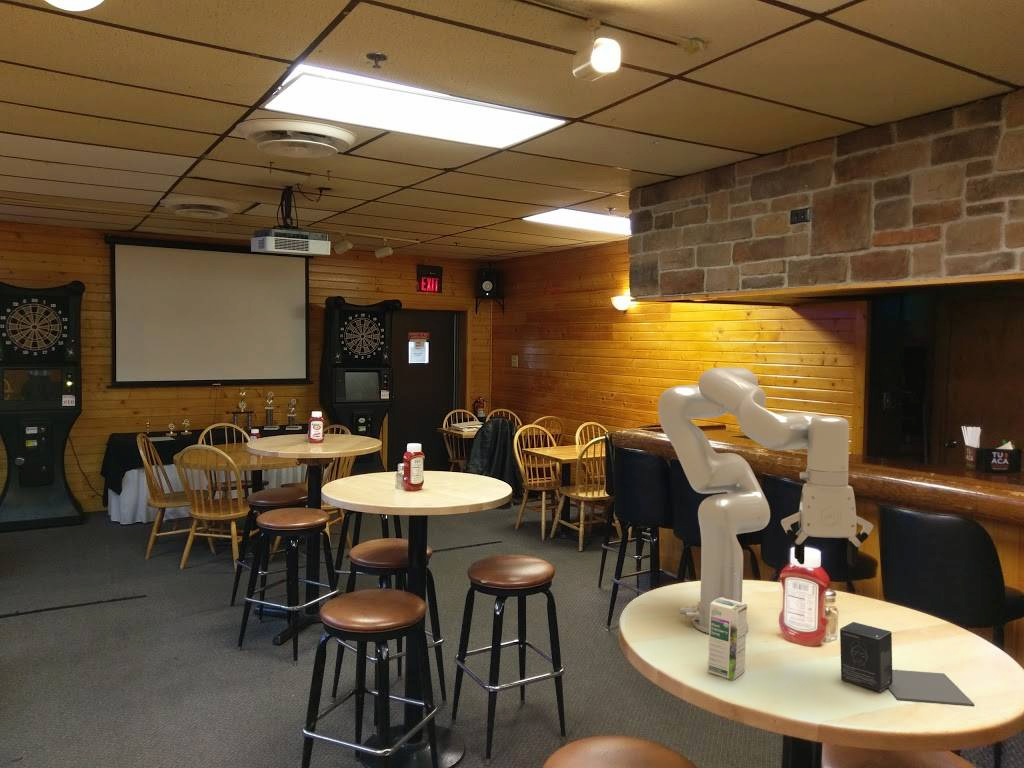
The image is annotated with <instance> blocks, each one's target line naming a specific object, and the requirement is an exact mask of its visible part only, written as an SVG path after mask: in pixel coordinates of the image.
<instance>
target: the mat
mask: <svg viewBox="0 0 1024 768" xmlns="http://www.w3.org/2000/svg"><path fill="white" fill-rule="evenodd" d="M887 689H888V690H889V692H890V693H891V694H892V695H893V697H894V698H895V699H896V700H897V701H906V702H918V703H919V702H920V703H933V704H943V705H944V704H945V705H957V706H968V705H969V707H975V703H974V702H973V701H972V700H971V699H970V698H969V697H968V696H967V695H966V694H965V693H964V692H963V691H962V690H961V689H960V688H959V686H958V685H956V684H955V682H953V681H952V679H950V677H948V676H947V675H946V673H942V672H930V671H918V670H917V671H915V670H905V669H904V670H903V669H892V684H891V685H889V686H888V687H887Z"/></svg>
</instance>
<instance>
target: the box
mask: <svg viewBox="0 0 1024 768" xmlns="http://www.w3.org/2000/svg"><path fill="white" fill-rule="evenodd" d="M892 638H893V636H892V631H890V630H887V629H882V628H878V627H875V626H871V625H867V624H863V623H859V622H854V621H852V622H850V623H848V624H846V625H844V626H841V628H840V629H839V642H840V649H839V650H840V678H841V680H842V681H845V682H848V683H852V684H855V685H859V686H862V687H865V688H868V689H871V690H873V691H877V692H882V691H884V690H885V689H886V688H887V689H888V686H889V685H891V684H892V670H893V643H892V642H893V639H892Z"/></svg>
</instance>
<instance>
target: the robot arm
mask: <svg viewBox="0 0 1024 768" xmlns="http://www.w3.org/2000/svg"><path fill="white" fill-rule="evenodd" d="M766 405H767V395H766V392H765V391H764V389H763V388H761V387H760V386H759V380H758V378H757V375H755V373H754V372H753V371H751V370H749V369H748V368H745V367H713V368H712V367H711V368H710V369H707V370H706V371H704V372H702V374H701V376H699V379H698V381H697V384H688V385H687V384H685V385H683V384H682V385H675V386H672V387H669V388H667V389H665V390H664V391H663V392H662V393H661V394H660V396H659V399H658V404H657V416H658V421H659V424H660V426H661V428H662V430H663V432H664V434H665V435H666V437H667V439H668V441H669V442H670V443H671V445H672V448H673V449H674V451H675V454H676V456H677V458H678V460H679V463H680V464H681V467H682V469H683V472H684V475H685V476H686V478H687V481H688V482H689V485H690V486H691V488H692V489H693V491H695V492H696V493H699V494H704V495H705V494H706V495H707V494H713V495H711V496H708V497H706V498H704V500H702V501H701V503H700V504H699V506H698V509H697V518H698V525H699V532H700V539H701V540H700V542H701V545H700V546H701V549H700V550H701V551H700V552H701V555H700V558H701V560H700V564H701V565H700V567H701V568H700V596H699V597H700V599H699V600H700V601H699V602H697V605H693V606H682V605H680V606H679V615H685V618H689V619H690V618H692V626H694V628H696V629H697V630H698V631H701V632H703V633H705V632H706V634H709V619H710V603H712V602H713V601H714V600H716V599H718V598H721V597H723V598H726V599H730V600H734V601H738V602H742V603H743V578H744V552H743V548H742V546H741V544H740V542H739V541H738V538H737V535H740V534H744V533H745V534H746V533H752V532H754V533H755V532H757V531H760V530H763V529H765V528H766V527H767V526H768V524H769V523H770V519H771V509H770V505H769V502H768V500H767V498H766V496H765V493H764V492H763V490H762V488H761V486H760V484H759V482H758V479H757V478H756V476H755V473H754V471H753V469H752V468H751V466H750V464H749V462H748V461H746V459H745V458H744V457H742V456H741V455H739V454H737V453H734V452H724V453H721V452H720V453H718V452H716V451H715V450H714V448H713V447H712V444H711V443H710V441H709V440H710V439H708V436H707V435H706V433H705V432H704V431H703V430H702V429H701V428H700V427H698V426H697V425H696V424H695V423H694V422H693V421H692V420H694V419H695V420H696V419H697V420H699V419H700V420H701V419H715V418H720V417H723V416H724V415H727V414H730V415H731V416H733V417H735V418H736V421H737V424H738V426H739V428H740V430H741V431H742V433H743V434H744V435H745V436H746V437H748V438H749V439H751V440H752V441H754V442H755V443H757V444H759V445H761V446H762V447H764V448H767V449H768V450H773V451H790V450H807V461H806V462H807V463H806V465H807V468H806V470H805V471H801V472H800V471H799V479H800V480H804V481H805V482H806V483H805V482H804V484H803V486H802V490H801V494H800V500H799V509H798V512H796V513H794V514H791V515H790V516H787V517H785V518H782V519H781V520H780V524H781V527H782V528H783V530H784V531H785V533H786V535H787V536H789V537H790V539H791V540H792V541H793V542H794V547H793V548H794V553H793V555H794V556H793V557H794V559H795V560H796V561H797V562H798V564H799V565H804V564H805V544H804V541H805V540H806V539H807V538H808V537H814V538H832V539H833V538H835V539H848V541H849V542H848V543H847V544H846V545H847V546H846V547H847V548H846V549H847V550H846V551H847V553H846V563H847V564H848V565H849V566H850V567H852V568H856V566H857V565H856V564H857V563H858V562H859V547H861V545H862V544H863V542H865V541H866V540H867V539H868V538H869V535H870V534H871V532H872V530H873V529H874V523H873V524H872V522H869V521H867V520H866V519H865V518H863V517H860V516H858V515H857V509H856V499H855V493H854V488H853V486H851V485H849V458H850V457H849V454H850V452H849V451H850V447H849V446H850V423H849V421H848V420H847V419H846V418H844V417H840V416H833V415H832V416H831V415H829V416H828V415H827V416H826V415H824V416H823V415H820V414H815V413H811V412H787V413H784V412H783V413H775V412H773V411H770V410H768V409H767V408H766ZM797 522H798V528H799V529H798V530H797V532H796V533H795V531H793V529H792V527H791V525H792V524H794V523H797ZM857 524H858V525H860V526H862V529H861V531H860V532H857V528H858V527H857V526H858V525H857ZM856 562H857V563H856ZM748 631H749V625H748V623H747V621H746V633H747V632H748Z"/></svg>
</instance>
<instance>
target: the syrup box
mask: <svg viewBox="0 0 1024 768" xmlns="http://www.w3.org/2000/svg"><path fill="white" fill-rule="evenodd" d="M747 611H748V603H747V602H743V601H742V602H738V601H734V600H730V599H726V598H723V597H721V598H718V599H716V600H714V601H713V602H712V603H710V619H709V633H708V658H707V659H708V660H707V673H708V672H709V674H712V675H713V674H714V675H715V676H719V677H722V678H725V679H728V680H731V681H734V680H736V679H737V678H739V677H740V676H741V675H742V674H743V673H745V666H746V644H747V643H746V642H747V632H746V622H747V616H748V615H747V613H748V612H747Z"/></svg>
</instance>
